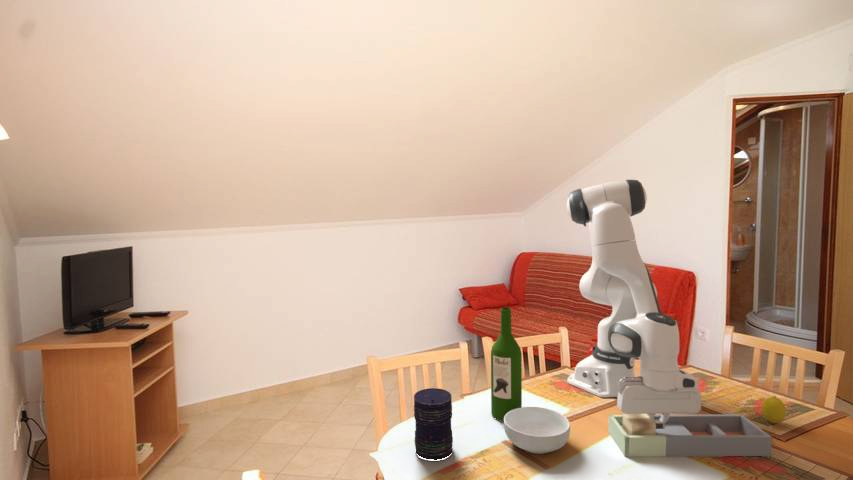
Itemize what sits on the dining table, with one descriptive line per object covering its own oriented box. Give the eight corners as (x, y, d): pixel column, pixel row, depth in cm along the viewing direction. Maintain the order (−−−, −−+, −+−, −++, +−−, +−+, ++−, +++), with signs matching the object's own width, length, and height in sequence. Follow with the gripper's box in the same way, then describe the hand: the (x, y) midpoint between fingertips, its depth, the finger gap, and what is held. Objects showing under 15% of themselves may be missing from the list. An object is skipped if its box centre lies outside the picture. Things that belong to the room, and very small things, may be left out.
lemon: (789, 429, 130) (790, 401, 129) (766, 427, 131) (768, 399, 130) (778, 419, 135) (780, 392, 135) (757, 418, 137) (758, 391, 136)
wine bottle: (488, 419, 140) (487, 311, 136) (495, 406, 148) (494, 303, 144) (518, 424, 136) (518, 313, 133) (524, 410, 144) (524, 305, 141)
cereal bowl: (581, 444, 125) (581, 418, 124) (550, 472, 113) (550, 443, 112) (525, 423, 137) (525, 400, 136) (491, 447, 125) (491, 421, 124)
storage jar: (416, 441, 128) (414, 388, 127) (452, 441, 128) (451, 387, 126) (413, 462, 118) (412, 404, 117) (453, 462, 118) (452, 404, 117)
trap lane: (624, 456, 119) (625, 437, 118) (608, 432, 131) (608, 414, 130) (770, 456, 117) (772, 437, 117) (740, 431, 129) (741, 414, 129)
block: (631, 439, 121) (631, 424, 121) (622, 427, 127) (622, 413, 126) (655, 439, 121) (655, 424, 120) (645, 427, 127) (645, 413, 126)
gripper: (622, 382, 120) (621, 434, 121) (705, 381, 119) (703, 433, 120) (613, 372, 126) (612, 422, 127) (692, 371, 125) (690, 421, 127)
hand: (657, 428), depth 124 cm, fingers closed
